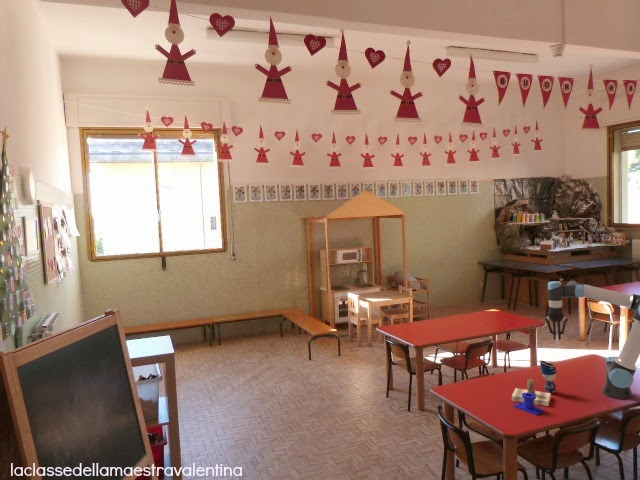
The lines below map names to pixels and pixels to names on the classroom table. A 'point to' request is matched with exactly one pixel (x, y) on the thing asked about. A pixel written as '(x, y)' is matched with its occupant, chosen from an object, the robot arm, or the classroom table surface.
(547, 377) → the blue tall vessel
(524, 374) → the classroom table surface
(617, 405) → the classroom table surface
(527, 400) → the mount
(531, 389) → the peg
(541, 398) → the board
